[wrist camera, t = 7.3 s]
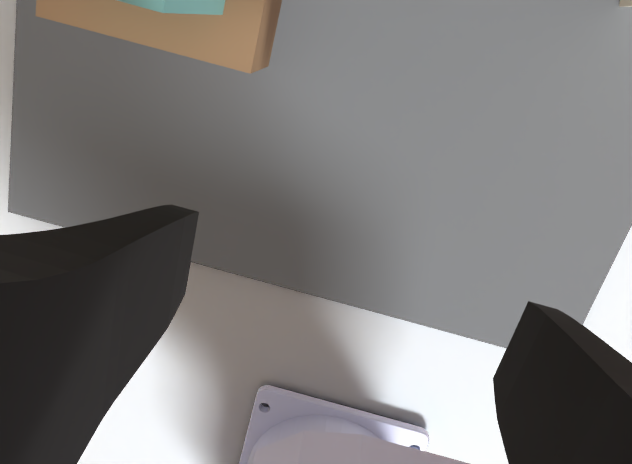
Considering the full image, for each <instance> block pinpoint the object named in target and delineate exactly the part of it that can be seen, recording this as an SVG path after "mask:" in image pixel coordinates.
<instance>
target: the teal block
mask: <svg viewBox="0 0 632 464" xmlns="http://www.w3.org/2000/svg"><path fill="white" fill-rule="evenodd" d="M117 1H121V2H124V3H128V4H132V5H135V6H139V7H142V8H146V9H150V10H153V11H157V12H161V13H176V14H207V15H223V10H224V5H225V0H117Z"/></svg>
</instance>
